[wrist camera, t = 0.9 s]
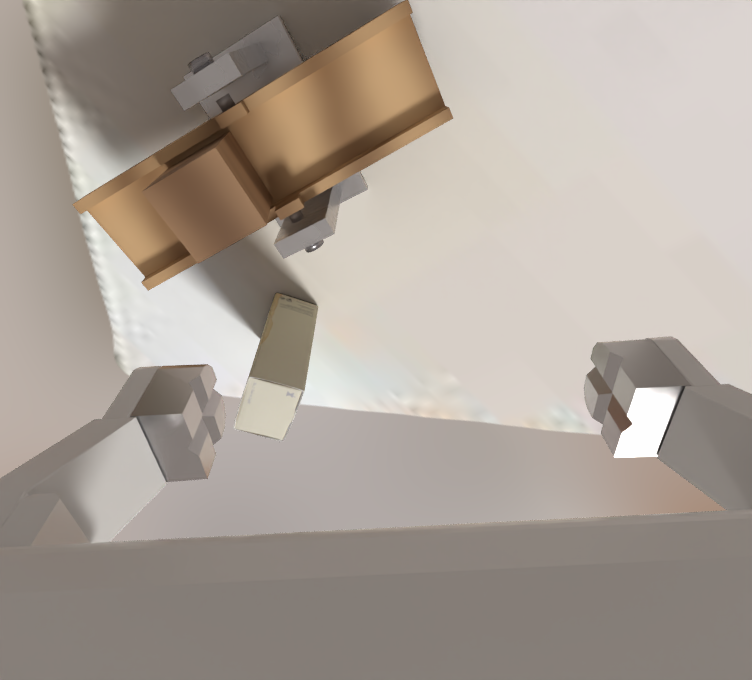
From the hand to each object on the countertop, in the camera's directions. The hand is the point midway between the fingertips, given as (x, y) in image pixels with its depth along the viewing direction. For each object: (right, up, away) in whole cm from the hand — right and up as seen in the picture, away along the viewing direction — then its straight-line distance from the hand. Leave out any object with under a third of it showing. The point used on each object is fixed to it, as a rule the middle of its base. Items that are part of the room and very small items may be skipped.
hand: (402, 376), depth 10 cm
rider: (-11, +11, +22) cm, 27 cm away
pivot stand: (-8, +17, +27) cm, 32 cm away
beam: (-8, +15, +25) cm, 30 cm away
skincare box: (-9, +2, +37) cm, 38 cm away
